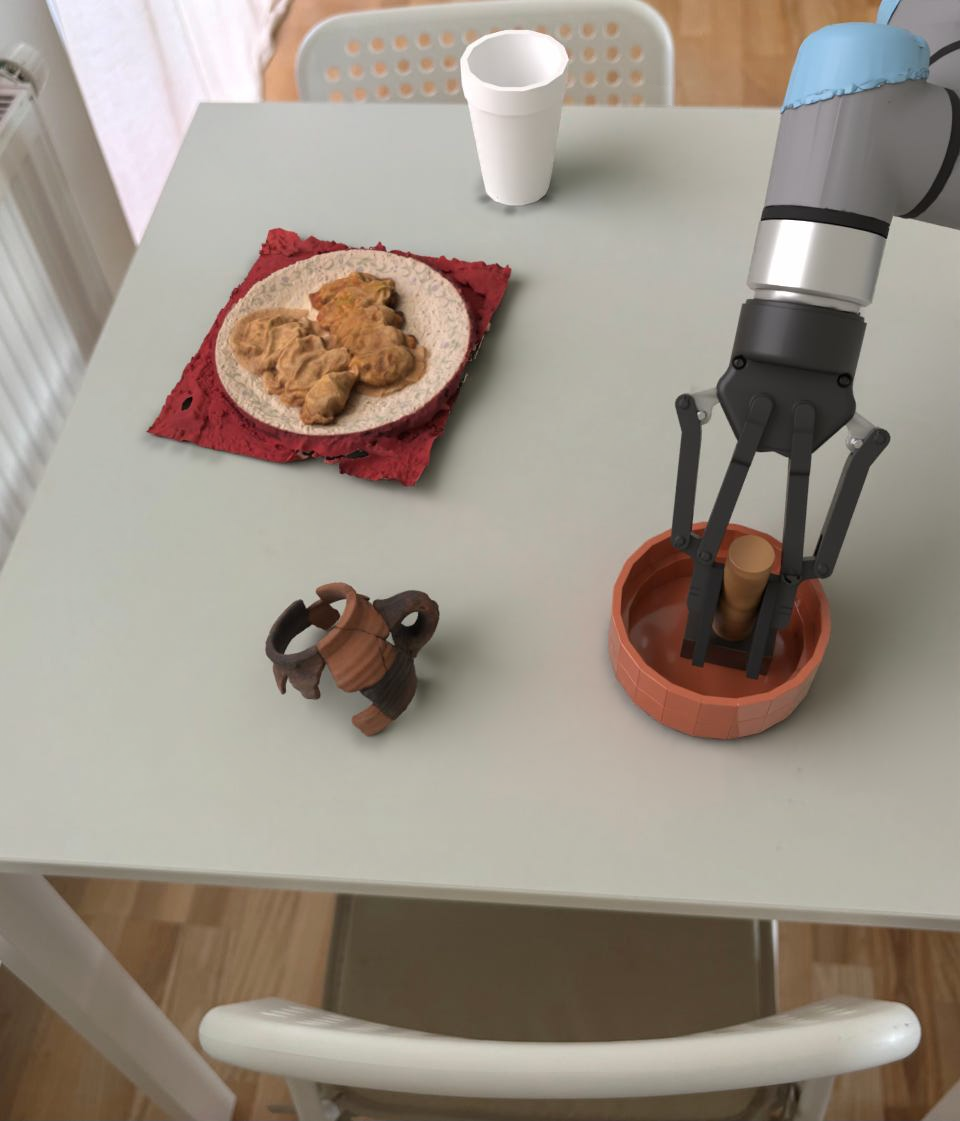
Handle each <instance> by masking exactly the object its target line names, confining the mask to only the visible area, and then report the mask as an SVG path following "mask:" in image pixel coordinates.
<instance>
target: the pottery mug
mask: <svg viewBox="0 0 960 1121" xmlns="http://www.w3.org/2000/svg"><path fill="white" fill-rule="evenodd" d="M315 594H316V595H317V597H318V598H319V599H317V600H316V601H314V602H313V603H312V604H310V605H309V606H308V607H306V604H305V602H304V600H303V599H301V598H300V599H297V600H295V601H293V602H292V603H290V605H288V606H287V608H285V609H284V610H283V611H282V612H281V614H280V615H279V616H278V617H277V619H276V620H275V621H274V623H273V624H272V626H271V627H270V630H269V633H268V635H267V637H266V641H265V648H264V651H265V656H266V657H267V658H268V660H270V662H272V672H273V676H274V680H275V684H276V687H277V688H278V691H279V693H280V694H281V695H282V696H283V695H284V696H285V694H287V683H288V682H289V684H291V686H292V688H293V689H295V690H296V691H298V692H299V693H300V694H301V696H302V697H303V698H304V699H306V700H314V701H316V700H319V699H321V694H322V693H321V690H320V688H319V685H320V681H321V677H322V673H323V671H324V670H325V667H326V665H327V667H328V670H329V671H330V673H331V675H332V677H333V680H334V682H335V684H336V687H337V688H338V689H339V690H341V691H343V692H345V693H349V694H352V693H356V692H359V693H360V694H361V695H362V696H363V697H365V698H367V699H368V700H369V701H370V702H372V703H371V704H370V705H369V706H368V707H367V708H365V709H364V710H362V711H360V712H359V713H357V714H355V715H352V717H351V723H352V725H353V726H354V727H355V728H356V729H358V730H360V732H361V733H363V734H364V736H365V737H370V736H372V735H375V734H378V733H379V732H381V731H383V730H385V729H386V728H387V727H388V726H389V725H391V724H393V722H394V721H396V720H397V719H398V718H399V717H400V716H401V715H402V714H403V713H404V712H405V711H406V710H407V708H408V707H409V705H410V704H411V702H412V701H413V699H414V697H415V695H416V692H417V686H418V677H417V673H416V666H415V660H414V659H416V658H417V657H418V655H419V652H420V651H421V649H423V648H424V647H425V646H426V645H427V643H429V641H430V640H431V639H432V638H433V637H434V635H435V633H436V631H437V628H438V625H439V621H440V614H441V613H440V609H439V608H440V607H439V604H438V602H437V601H436V600H434V599H432V598H430V596H429V595H428V593H426V592H425V591H421V590H418V589H417V590H415V589H409V590H404V591H402V592H399V593H396V594H394V595H392V596H390V597H388V598H382V599H380V598H376V599H374V600H373V601H372V603H371V602H370V600H371V598H370V597H369V596H368V595H365V594H360V593H357V590H355V589H354V587H353V586H352V585H349V584H348V583H345V582H342V581H341V582H340V581H338V582H329V583H325V584H322V585H320V586H318V587H316V589H315ZM343 600H345V601H346V602H345V607H344V610H343V613H342V615H341V614H340V611H339V610H338V609H337V608H335V607H333V606H332V605H331V604H334V603H336V602H339V601H343ZM413 613H417V617H416V619H415V621H414V623H412V624H411V625H404V624H403V621H404V620H405V619H406V618H407V617H408V616H410V615H411V614H413ZM334 625H335V626H334ZM311 626H315V627H316V628H318V629H321V630H323V631H329V630H330V629H331V628H332V627H333V626H334V627H333V628H332V629H331V630H330V631H329V632H328V633H327V634H326V635H325V636H324V637H322V638H321V639H320V640H319V641H317V642H316V643H315V644H314V645H312V646H310V647H308V648H306V649H304V650H301V651H299V652H296V653H289V654H288V653H287V654H285V652H286V650H287V649H288V647H289V645H290V643H292V640H293V639H295V638H296V637H297V636H298V635H300V634H301V633H302V632H304V631H305V630H306V629H308V628H310V627H311ZM390 635H391V639H392V642H393V643H392V642H390V641H388V640H387V639H388V638H389V637H390Z"/></svg>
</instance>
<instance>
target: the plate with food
mask: <svg viewBox="0 0 960 1121" xmlns="http://www.w3.org/2000/svg"><path fill="white" fill-rule="evenodd" d="M260 245H261V249H259V250H258V254H259V257H258V258H257V259H256V261H255V262H254V264H253V265H252V266H251V268H250V270H249V272H248V273H247V276H246V277H245V278H244V280H243V282H242V283H241V284H240V283H239V284H238V285H237V287H234V288H233V289H232V291H231V293H230V296H229V300H228V301H227V303H226V304H225V306H224V308H221V309H219V312H218V314H217V315H216V319H215V320H214V322H213V324H212V325H211V328H210V330H209V331H208V332H207V334H205V337H204V338H203V341H202V342H201V344H200V347H199V349H198V350H197V352H196V353H195V354H194V356H191V358H190V362H188V363H187V364H186V365H185V366H184V369H183V370H182V374H181V378H180V379H179V381H178V382H176V385H175V386H174V387H173V389H171V391H170V394H168V395H167V396H166V398H165V404H163V405H162V407H161V410H160V413H159V414H158V416H157V417H156V418H155V419H154V422H153V423H152V425H149V427H148V429H147V430H146V431H145V432H146V433H147V434H151V435H152V434H153V435H155V436H156V437H158V438H159V437H164V438H167V439H173V440H175V441H177V442H182V441H183V440H185V441H188V442H192V443H194V444H195V445H197V447H205V448H209V449H211V450H214V451H215V450H216V451H217V450H219V451H224V452H228V453H230V454H231V453H232V454H233V453H234V454H238V455H243V456H247V457H253V458H256V459H259V460H266V461H267V462H273V463H278V464H280V463H290V462H294V461H300V460H307V459H308V458H309V455H308V454H310V453H311V452H312V451H313V453H312V454H311V457H312V458H321V457H324V458H323V461H324V464H328V465H329V464H330V465H335V464H336V463H338V467H339V468H338V469H339V470H338V472H339V474H340V475H345V474H346V475H348V476H349V477H355V478H358V479H367V480H370V481H371V482H375V481H379V480H381V479H385V480H387V481H391V480H392V479H393V480H394V479H395V480H396V481H397V482H398V483H400V484H401V485H402V486H403V487H413V486H414V485H415V484H416V482H417V481H418V480H419V478H420V477H421V476H422V474H423V472H424V469H425V468H426V467H428V466H429V464H430V453H431V449H432V446H433V443H434V441H435V439H436V438H442V436H443V432H444V431H445V428H444V427H446V423H447V420H448V419H449V416H450V412H452V410H453V406H454V405H455V404H456V401H457V398H458V396H459V394H460V391H461V388H462V387H463V384H464V383H466V379H467V377H468V376H469V374H468V373H467V371H466V372H464V370H465V367H466V364H467V363H468V362H472V359H473V360H476V359H477V355H478V354H479V351H480V349H481V347H482V344H483V342H484V340H485V338H486V337H485V336H486V334H485V333H487V332H488V333H489V332H490V331H491V330H490V329H491V327H492V323H491V322H490V321H491V319H492V316H493V314H494V313H495V312H496V311H497V309H498V307H499V305H500V303H501V301H502V298H503V296H504V294H505V291H506V289H507V287H508V284H509V282H510V281H509V280H510V279H511V275H512V268H511V267H510V265H509V264H506V266H505V267H504V266H502V265H500V264H499V263H497V262H496V263H491V264H487V263H486V262H485V261H483V260H477V261H472V262H471V261H466V260H459V259H458V258H456V257H452V258H451V259H447V257H446V255H444V254H443V255H440V256H439V257H435V256H430V255H429V256H426V255H419V254H414V253H411V251H407V252H406V251H405V252H404V251H402V250H401V249H392V250H390V251H387V247H386V246H385V245H383V244H382V242H381V241H378V243H377V244H376V245H374V246H369V248H365V247H364V246H360V248H359V247H358V248H357V247H349V246H348V245H346V243H343V242H336V241H335V240H334V239H333V240H331V241H329V240H326V241H325V240H322V239H319V238H317V237H315V236H314V235H310V236H308V238H306V239H305V240H304V241H303V240H302V239H301V237H300V236H299V235H298V233H297V232H295V231H291V230H286V229H283V228H282V227H277V228H276V227H275V228H272V229H269V230H268V231H267V236H266V239H265V242H262V243H261V244H260ZM471 352H475V353H473V354H471ZM472 355H473V356H472ZM471 357H473V358H471ZM463 372H464V375H463V377H462V374H463ZM461 377H462V378H461ZM191 397H192V401H191V403H190V405H189V407H188V408H187V409H184V410H183V409H182V406H183V403H184V402H185V401H186V400H187V399H188V398H191ZM363 451H365V453H367V454H368V455H367V456H364V457H357V458H354V459H353V458H347V456H348V455H349V454H351V455H352V454H353V453H355V452H359V453H361V452H363ZM304 453H305V454H304Z"/></svg>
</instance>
